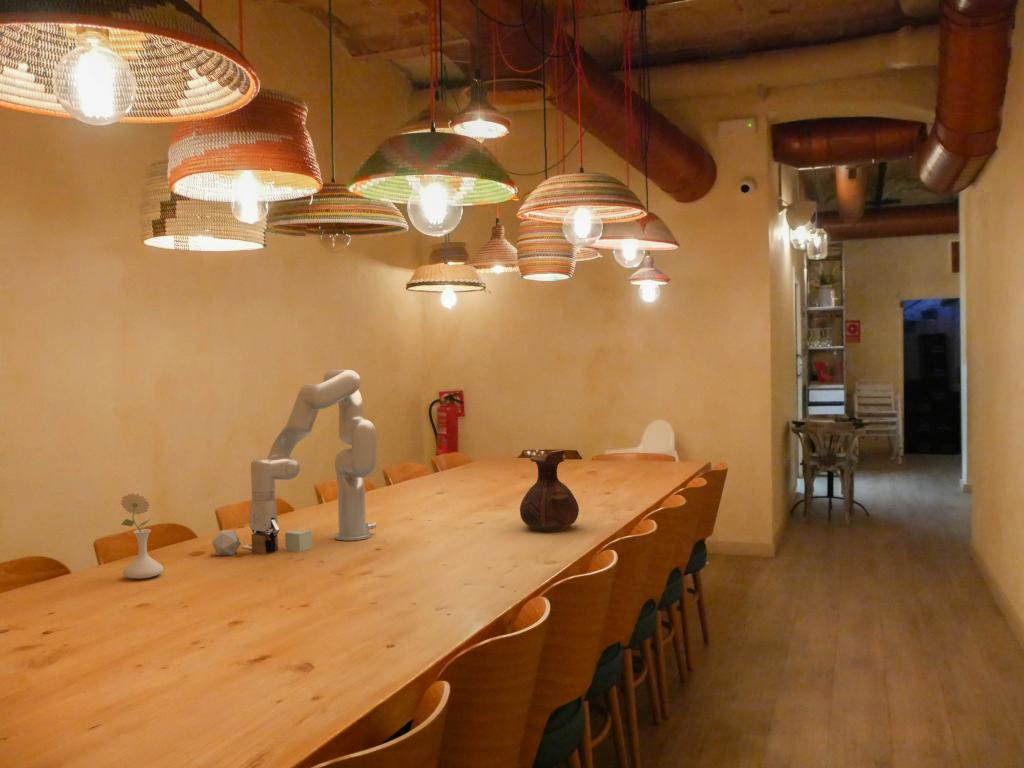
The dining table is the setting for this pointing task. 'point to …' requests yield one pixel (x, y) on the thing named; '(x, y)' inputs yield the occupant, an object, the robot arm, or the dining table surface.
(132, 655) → the dining table surface
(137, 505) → the flower in vase
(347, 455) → the robot arm
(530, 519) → the dark brown vase
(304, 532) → the sage block
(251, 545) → the tile
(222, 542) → the die
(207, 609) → the dining table surface
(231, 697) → the dining table surface
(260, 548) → the walnut block
